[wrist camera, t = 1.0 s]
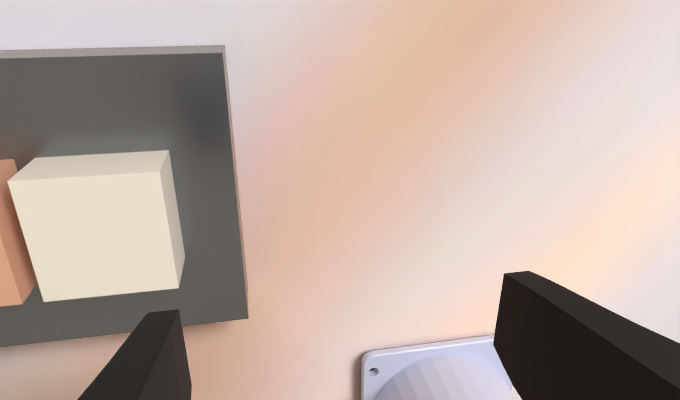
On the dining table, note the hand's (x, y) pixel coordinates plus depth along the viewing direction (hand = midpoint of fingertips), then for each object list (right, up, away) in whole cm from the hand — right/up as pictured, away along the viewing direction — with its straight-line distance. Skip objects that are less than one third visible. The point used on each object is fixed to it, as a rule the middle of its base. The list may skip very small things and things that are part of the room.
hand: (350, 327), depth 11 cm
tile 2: (-8, +2, +6) cm, 10 cm away
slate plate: (-10, +3, +7) cm, 13 cm away
